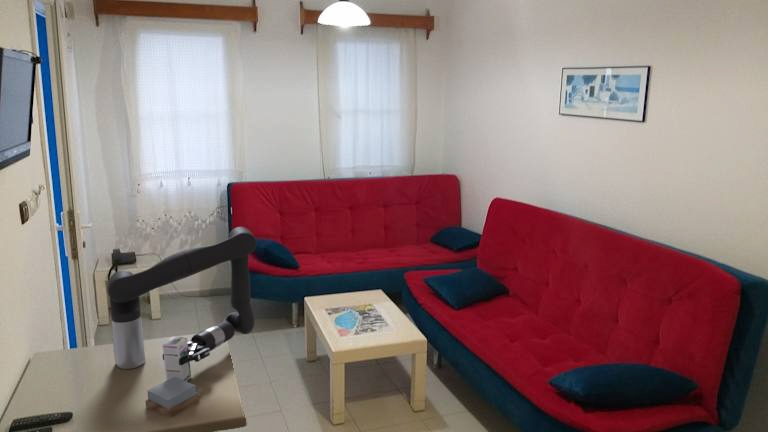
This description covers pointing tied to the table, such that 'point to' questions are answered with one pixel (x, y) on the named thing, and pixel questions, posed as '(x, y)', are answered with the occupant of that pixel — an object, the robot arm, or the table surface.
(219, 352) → the table surface
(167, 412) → the tower base
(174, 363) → the syrup box
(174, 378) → the tower top
